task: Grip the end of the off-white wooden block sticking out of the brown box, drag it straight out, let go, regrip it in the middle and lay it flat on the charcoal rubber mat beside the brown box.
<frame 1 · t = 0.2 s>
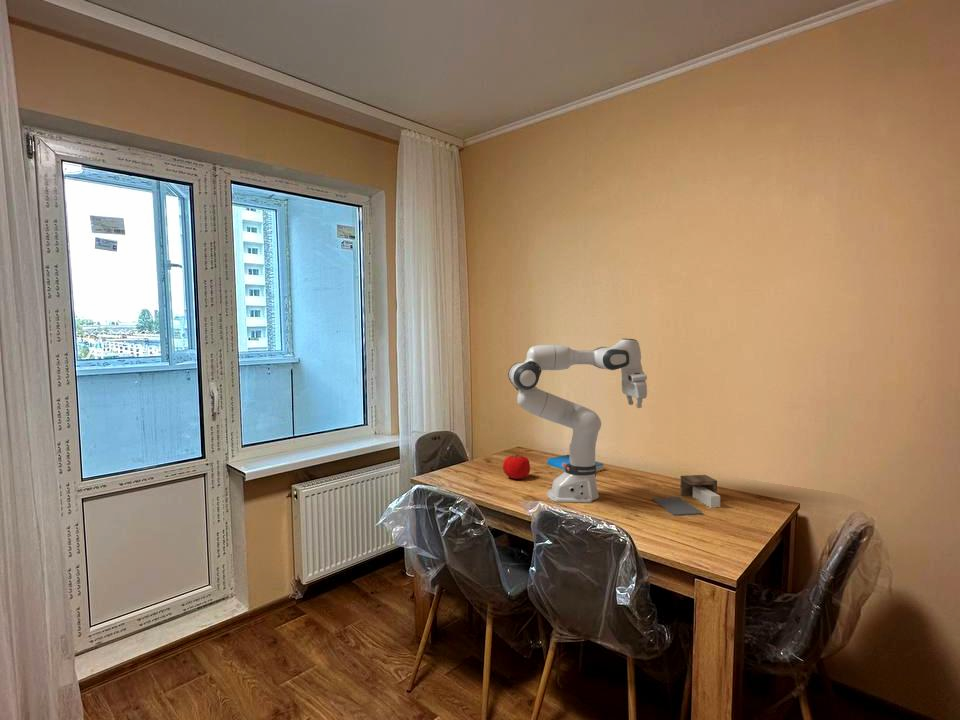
hand: (635, 406, 218), 39 cm above the table, tool pointing down, fingers open, 8 cm apart
block: (705, 502, 209), on the table
tomato: (516, 478, 245), on the table
mat: (676, 506, 203), on the table
brown box: (698, 497, 214), on the table
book: (574, 468, 264), on the table
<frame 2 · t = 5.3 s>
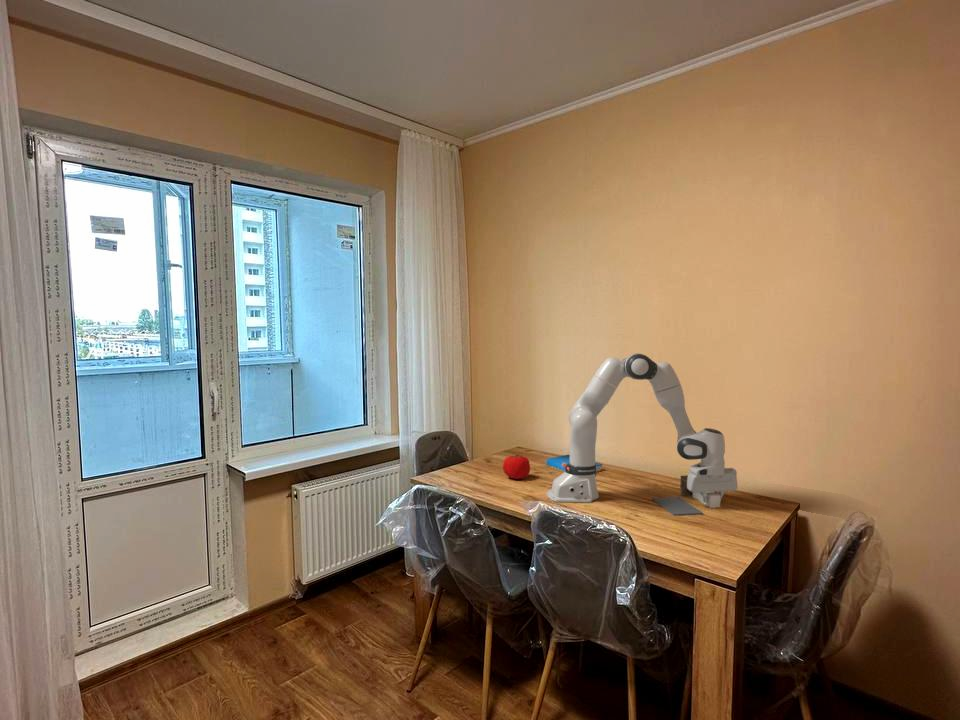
hand: (711, 501, 204), 2 cm above the table, tool pointing down, fingers closed on block, 4 cm apart
block: (705, 501, 209), on the table, touching gripper
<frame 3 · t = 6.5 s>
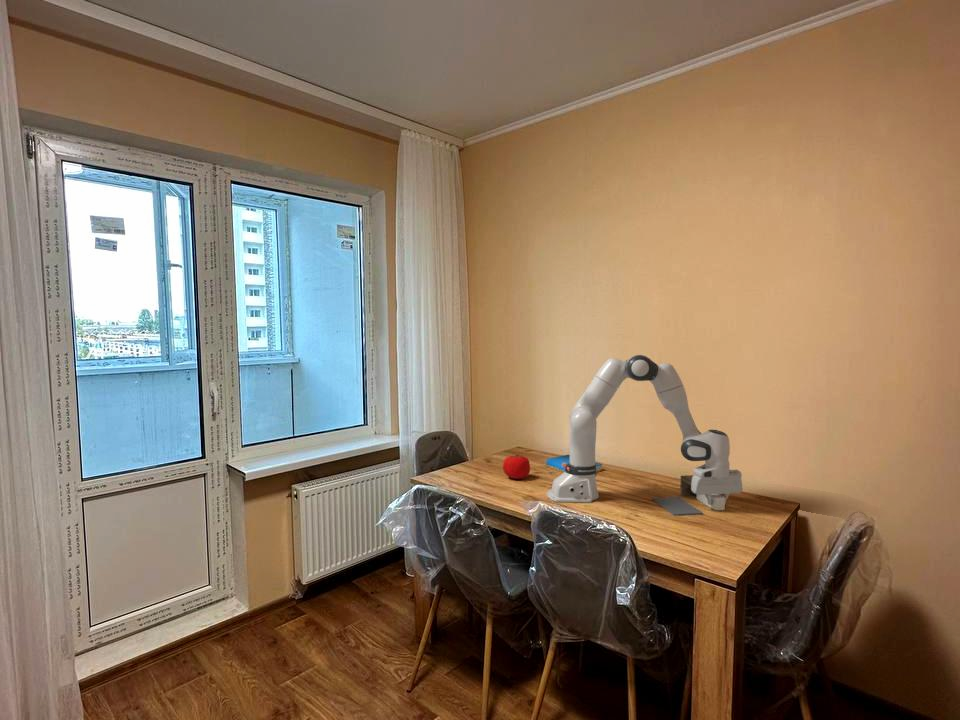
hand: (716, 504, 201), 2 cm above the table, tool pointing down, fingers closed on block, 4 cm apart
block: (710, 504, 206), on the table, touching gripper
everything else where it was.
when the fingers open (2 cm above the table, at t = 7.9 s): block stays where it is, on the table.
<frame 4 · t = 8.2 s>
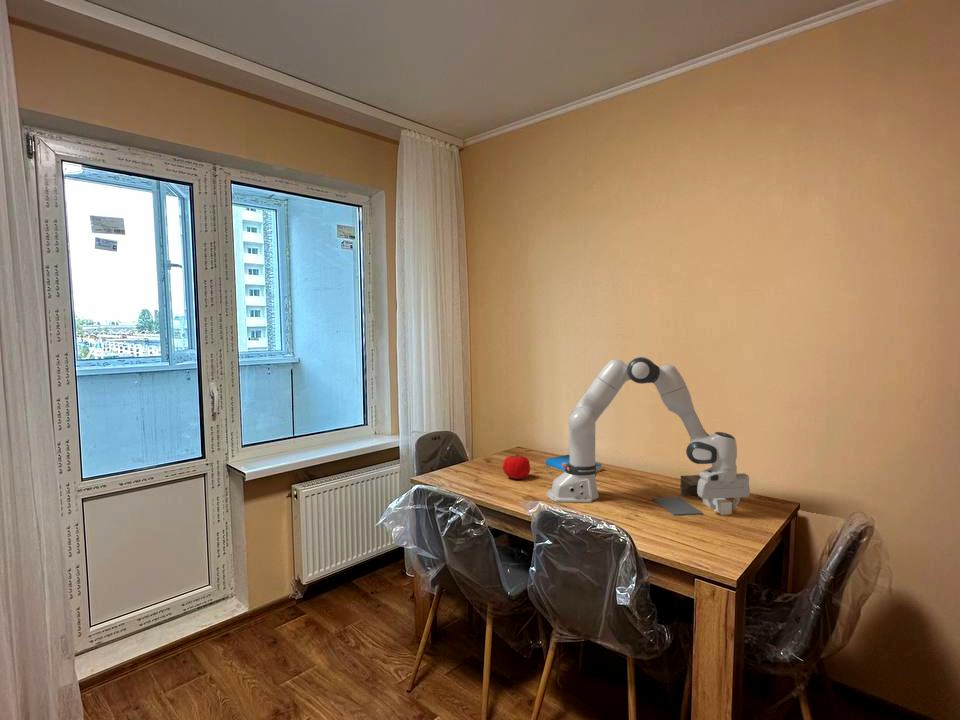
hand: (723, 508, 196), 2 cm above the table, tool pointing down, fingers open, 7 cm apart
block: (716, 509, 201), on the table
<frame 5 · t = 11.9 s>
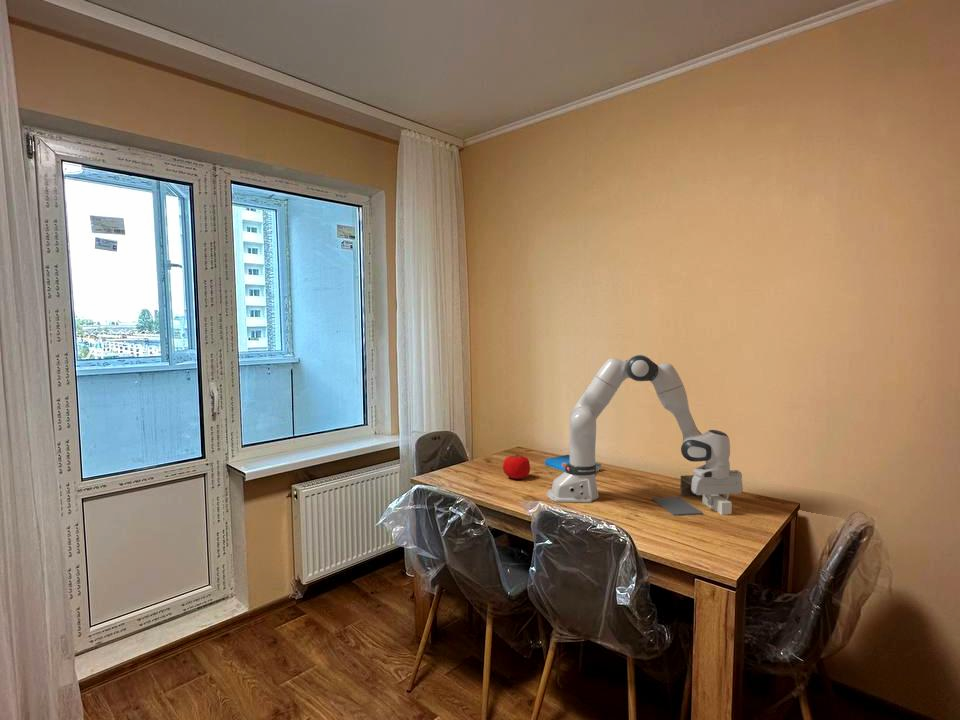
hand: (716, 504, 201), 2 cm above the table, tool pointing down, fingers closed on block, 4 cm apart
block: (716, 508, 201), on the table, touching gripper
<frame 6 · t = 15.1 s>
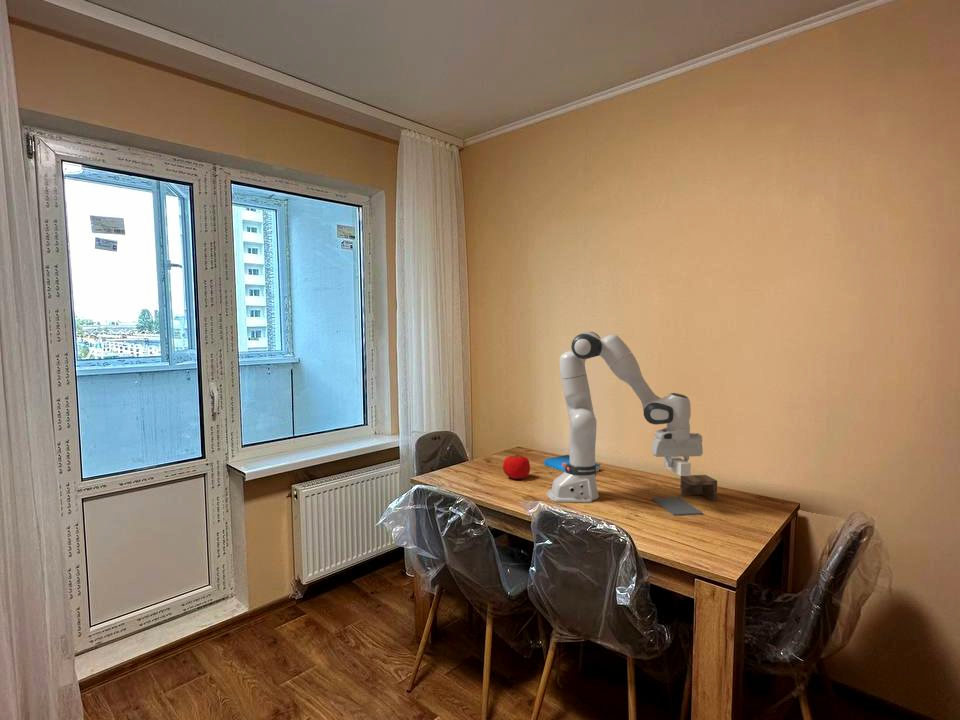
hand: (676, 466, 203), 16 cm above the table, tool pointing down, fingers closed on block, 4 cm apart
block: (676, 470, 203), point 15 cm above the table, touching gripper
when the fingers open (4 cm above the table, at t = 18.1 s): block drops 1 cm, resting on mat.
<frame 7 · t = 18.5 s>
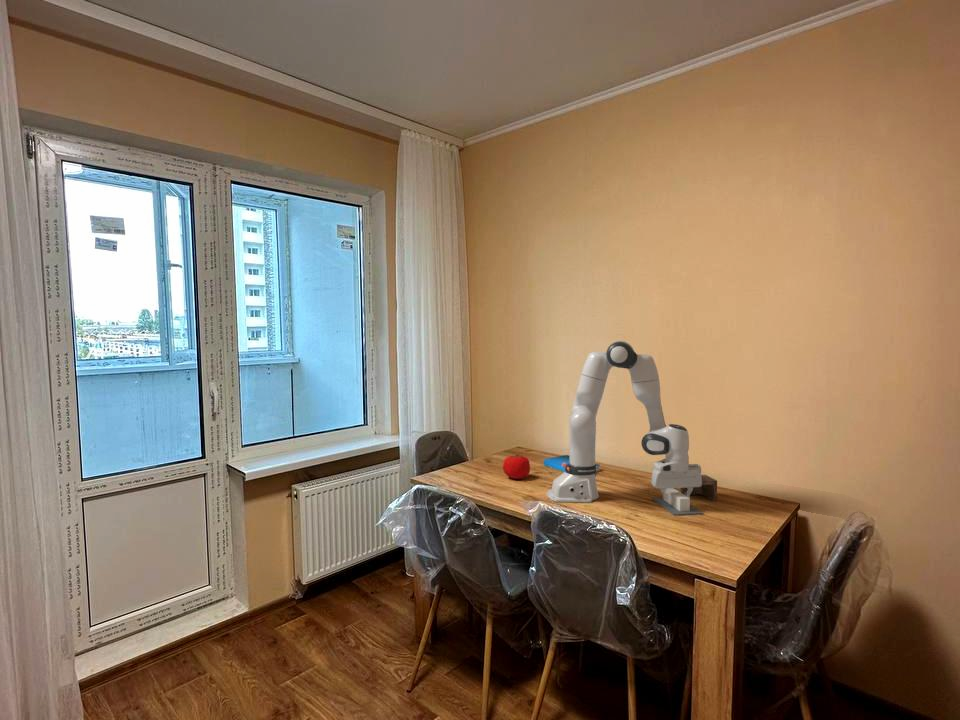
hand: (676, 498, 203), 4 cm above the table, tool pointing down, fingers open, 8 cm apart
block: (676, 505, 204), point 1 cm above the table, touching mat
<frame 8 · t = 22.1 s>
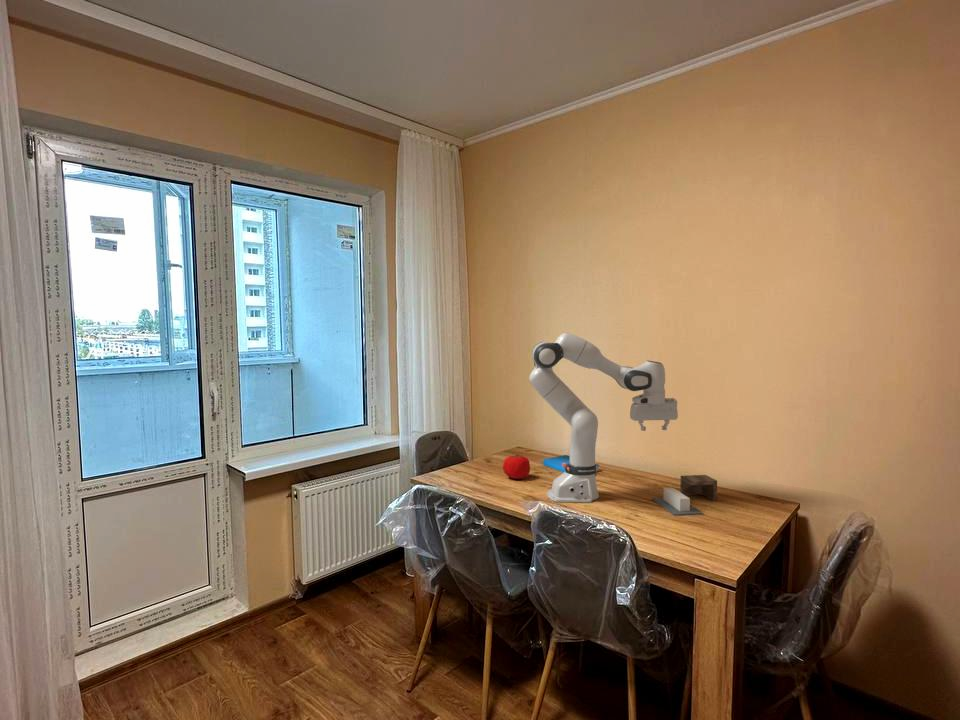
hand: (653, 430, 214), 29 cm above the table, tool pointing down, fingers open, 8 cm apart
at the end: block inside the target area on the mat (0.2 cm from its centre), point 0.6 cm above the mat's base; block tilted 0°; the gripper is holding nothing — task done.
